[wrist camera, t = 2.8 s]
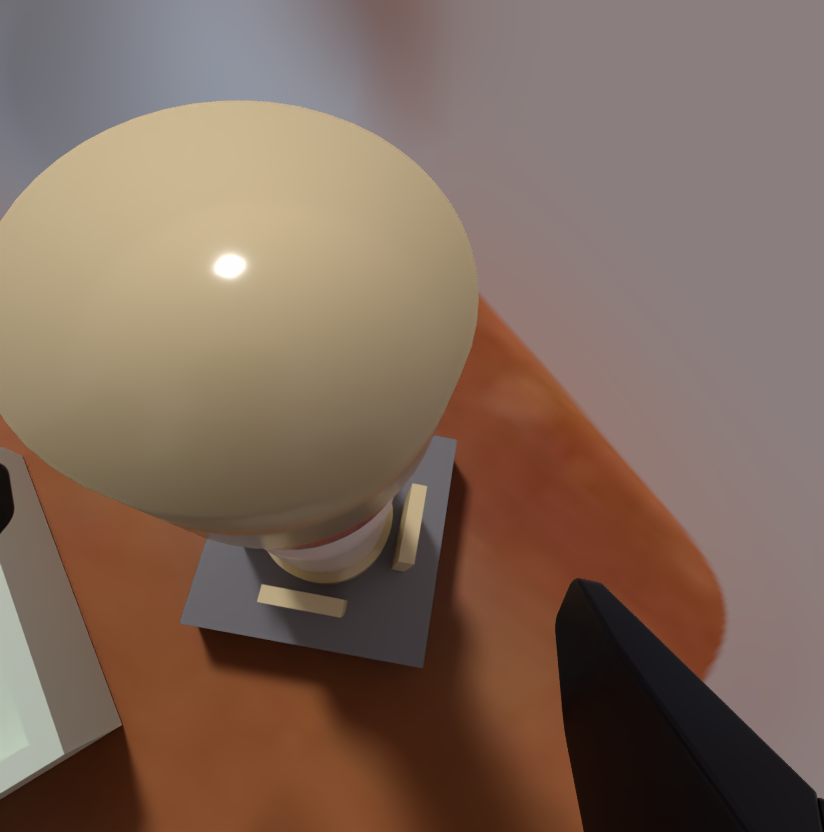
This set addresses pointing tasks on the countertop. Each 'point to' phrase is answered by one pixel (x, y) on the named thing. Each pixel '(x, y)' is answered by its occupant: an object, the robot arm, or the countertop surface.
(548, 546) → the countertop surface
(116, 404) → the white and tan post
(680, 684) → the robot arm
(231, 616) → the grey stand with brackets
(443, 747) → the countertop surface
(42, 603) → the tray
